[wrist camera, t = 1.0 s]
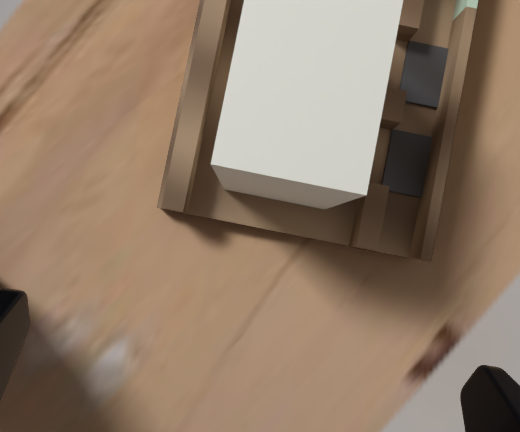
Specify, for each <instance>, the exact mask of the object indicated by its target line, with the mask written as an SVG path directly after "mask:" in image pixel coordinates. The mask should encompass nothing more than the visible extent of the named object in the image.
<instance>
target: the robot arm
mask: <svg viewBox="0 0 520 432" xmlns="http://www.w3.org/2000/svg"><path fill="white" fill-rule="evenodd" d="M29 326H30V317H29V308H28V299H27V295H26V293H25V292H23V291H20V290H14V289H8V288H3V289H0V400H1V398H2V395H3V393H4V390H5V388H6V385H7V383H8V380H9V378H10V375H11V373H12V370H13V368H14V366H15V363H16V361H17V358H18V356H19V353H20V351H21V348H22V346H23V343H24V341H25V338H26V336H27V333H28V330H29ZM461 406H462V412H463V419H464V425H465V432H520V386H519V385H518V384H517V383H516V382H515V381H514V380H513V379H512V378H511V377H510V376H509V375H508V374H507V373H506V372H505V371H504V370H503V369H501V368H498V367H493V366H487V365H481V366H479V367H478V368H477V369H476V370H475V372H474V373H473V374H472V375H471V377H470V378H469V379H468V381H467V382H466V383H465V385H464V386H463V388H462V391H461Z"/></svg>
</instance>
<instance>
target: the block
mask: <svg viewBox="0 0 520 432" xmlns="http://www.w3.org/2000/svg"><path fill="white" fill-rule="evenodd" d="M402 5H403V0H244V3H243V8H242V13H241V18H240V23H239V27H238V32H237V37H236V42H235V47H234V52H233V57H232V62H231V67H230V71H229V76H228V81H227V86H226V91H225V96H224V101H223V106H222V111H221V116H220V120H219V125H218V130H217V135H216V140H215V145H214V150H213V155H212V160H211V166H212V168H213V170H214V172H215V173H216V175H217V177H218V179H219V181H220V183H221V185H222V187H223V189H225V190H230V191H235V192H240V193H245V194H250V195H255V196H260V197H265V198H270V199H275V200H280V201H285V202H290V203H295V204H300V205H305V206H310V207H315V208H320V209H328V208H331V207H334V206H337V205H340V204H342V203H345V202H348V201H351V200H354V199H357V198H360V197H363V196H366V195H367V191H368V185H369V180H370V175H371V170H372V164H373V159H374V154H375V148H376V143H377V138H378V132H379V127H380V122H381V116H382V111H383V106H384V100H385V95H386V90H387V84H388V79H389V74H390V68H391V63H392V58H393V53H394V47H395V42H396V37H397V31H398V26H399V21H400V15H401V10H402Z"/></svg>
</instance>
